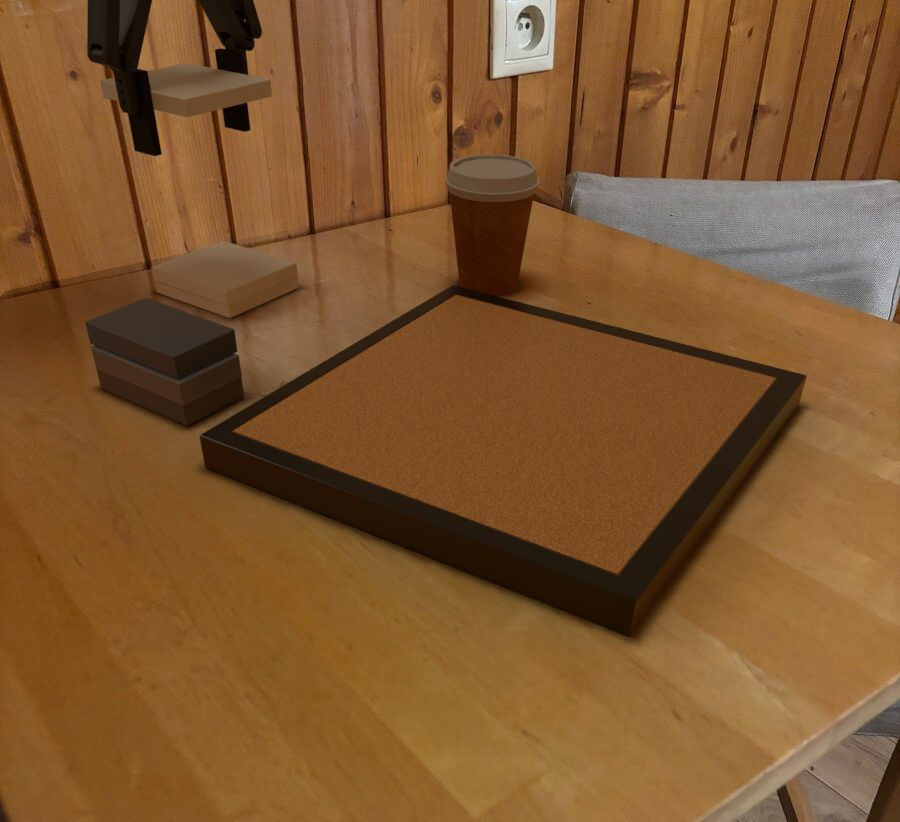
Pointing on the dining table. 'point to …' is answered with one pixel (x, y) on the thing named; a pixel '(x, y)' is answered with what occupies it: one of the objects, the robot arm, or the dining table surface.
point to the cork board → (518, 446)
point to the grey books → (166, 360)
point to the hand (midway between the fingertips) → (194, 140)
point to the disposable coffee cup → (490, 219)
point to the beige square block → (225, 278)
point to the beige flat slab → (197, 89)
